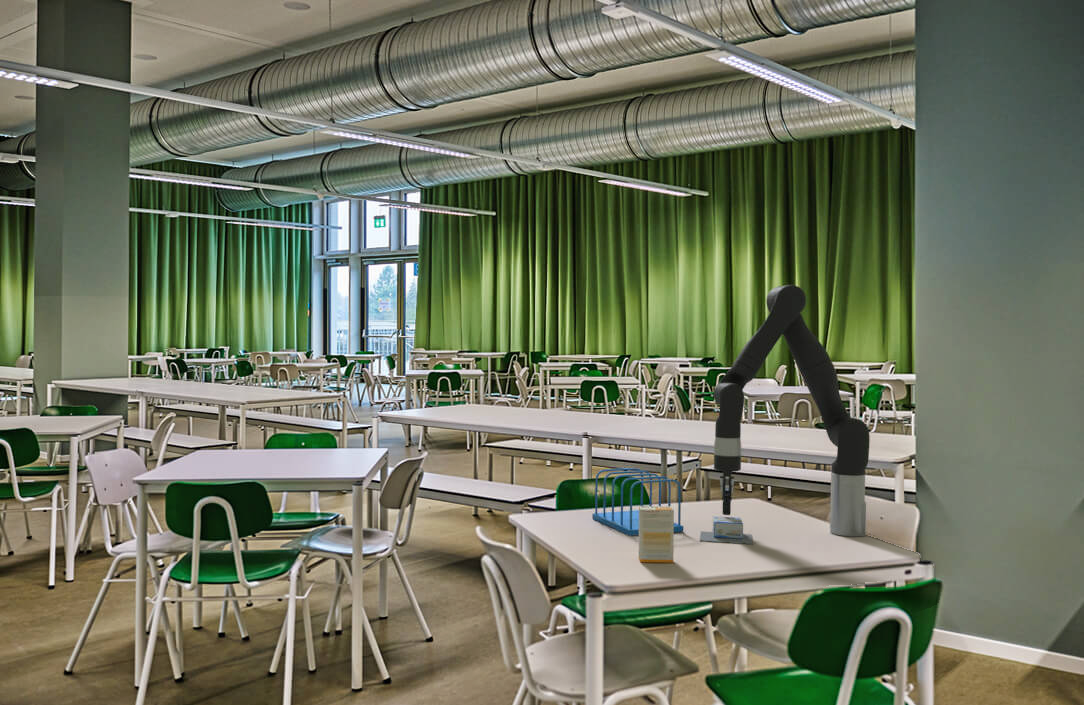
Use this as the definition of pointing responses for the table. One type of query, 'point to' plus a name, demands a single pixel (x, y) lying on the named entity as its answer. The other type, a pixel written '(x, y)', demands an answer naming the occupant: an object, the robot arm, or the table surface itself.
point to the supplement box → (656, 534)
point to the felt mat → (710, 537)
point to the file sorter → (630, 519)
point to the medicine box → (727, 527)
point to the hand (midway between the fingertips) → (726, 514)
